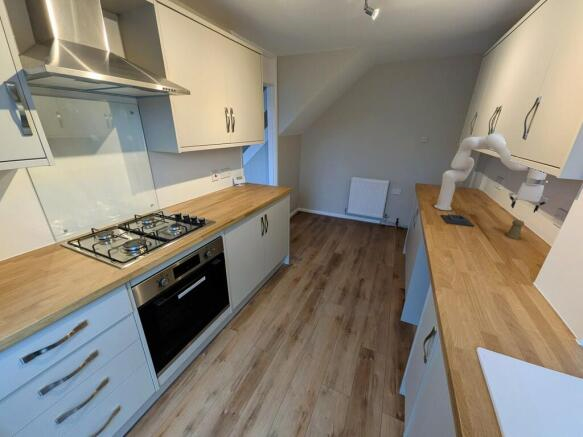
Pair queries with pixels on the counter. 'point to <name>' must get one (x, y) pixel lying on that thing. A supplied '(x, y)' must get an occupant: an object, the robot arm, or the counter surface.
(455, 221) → the pad
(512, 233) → the olive green tapered piece
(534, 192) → the robot arm
